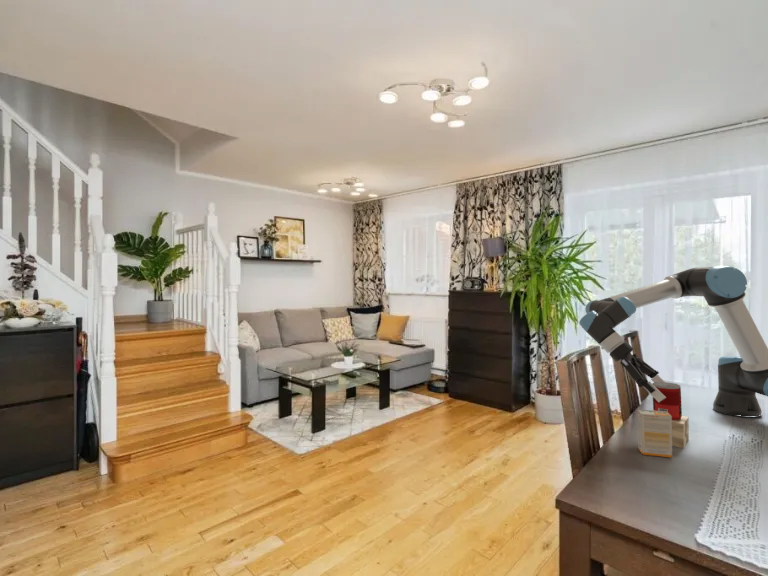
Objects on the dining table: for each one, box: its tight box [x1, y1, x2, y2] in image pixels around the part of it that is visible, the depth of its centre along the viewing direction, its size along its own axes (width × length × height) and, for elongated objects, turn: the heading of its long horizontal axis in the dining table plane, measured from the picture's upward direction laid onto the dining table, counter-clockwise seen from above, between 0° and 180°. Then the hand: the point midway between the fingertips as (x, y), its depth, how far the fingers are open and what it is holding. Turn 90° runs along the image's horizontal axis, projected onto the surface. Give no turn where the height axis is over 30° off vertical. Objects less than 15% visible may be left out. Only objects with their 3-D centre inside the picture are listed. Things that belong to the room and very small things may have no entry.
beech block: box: [672, 415, 690, 450], centre depth 139 cm, size 10×10×8 cm
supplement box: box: [637, 409, 673, 459], centre depth 128 cm, size 8×5×13 cm, turn 71°
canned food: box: [651, 381, 683, 420], centre depth 139 cm, size 8×8×11 cm
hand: (666, 395), depth 139 cm, fingers open, 13 cm apart
